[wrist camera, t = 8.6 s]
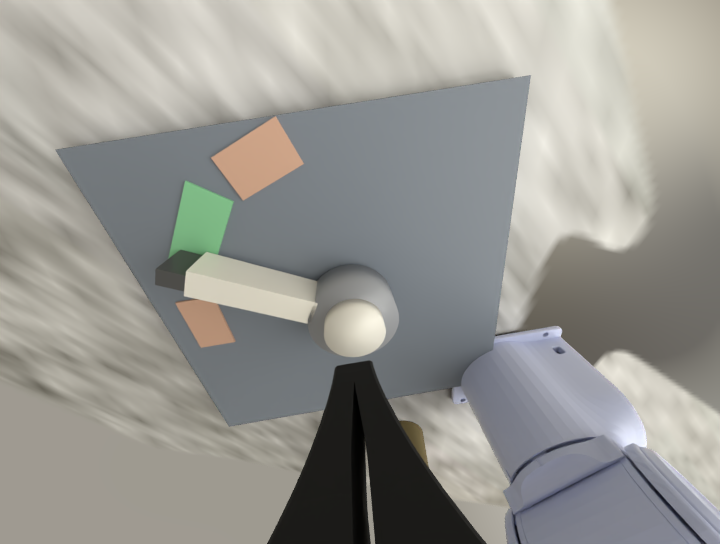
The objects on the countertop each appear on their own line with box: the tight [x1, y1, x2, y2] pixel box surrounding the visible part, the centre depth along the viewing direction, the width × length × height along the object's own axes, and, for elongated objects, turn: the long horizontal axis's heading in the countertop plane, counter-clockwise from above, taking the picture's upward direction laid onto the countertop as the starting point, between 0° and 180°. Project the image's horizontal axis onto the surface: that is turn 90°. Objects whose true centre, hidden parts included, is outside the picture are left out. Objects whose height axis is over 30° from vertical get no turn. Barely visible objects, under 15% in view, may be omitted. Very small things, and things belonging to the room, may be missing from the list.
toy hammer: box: [155, 250, 399, 357], centre depth 16 cm, size 14×6×4 cm, turn 70°
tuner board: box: [56, 75, 531, 426], centre depth 19 cm, size 24×23×1 cm
